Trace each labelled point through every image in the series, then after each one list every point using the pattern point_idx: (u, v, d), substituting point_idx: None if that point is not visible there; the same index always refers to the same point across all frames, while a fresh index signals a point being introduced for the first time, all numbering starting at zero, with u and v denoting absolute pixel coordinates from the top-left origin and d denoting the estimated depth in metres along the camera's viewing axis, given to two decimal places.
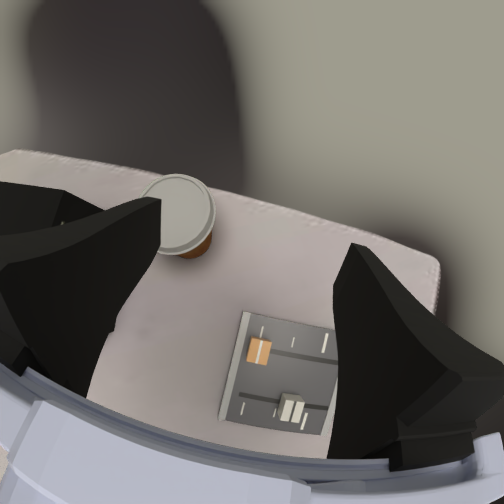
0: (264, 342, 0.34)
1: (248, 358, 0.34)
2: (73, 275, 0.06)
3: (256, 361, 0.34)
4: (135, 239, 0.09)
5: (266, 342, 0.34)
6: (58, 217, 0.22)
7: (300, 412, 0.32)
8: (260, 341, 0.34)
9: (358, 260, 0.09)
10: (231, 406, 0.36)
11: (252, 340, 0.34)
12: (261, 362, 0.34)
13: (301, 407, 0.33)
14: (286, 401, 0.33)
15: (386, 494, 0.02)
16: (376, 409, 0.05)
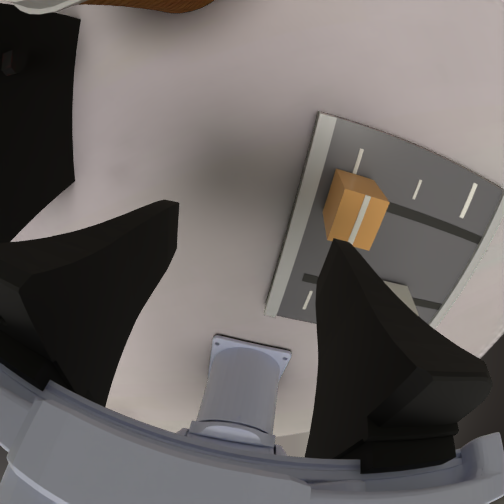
0: (373, 201, 0.13)
1: (332, 234, 0.15)
2: (96, 283, 0.06)
3: (349, 242, 0.15)
4: (154, 244, 0.09)
5: (377, 201, 0.13)
6: None
7: None
8: (364, 198, 0.13)
9: (338, 255, 0.09)
10: (288, 296, 0.22)
11: (345, 194, 0.13)
12: (360, 244, 0.15)
13: None
14: None
15: (386, 494, 0.02)
16: (349, 407, 0.05)
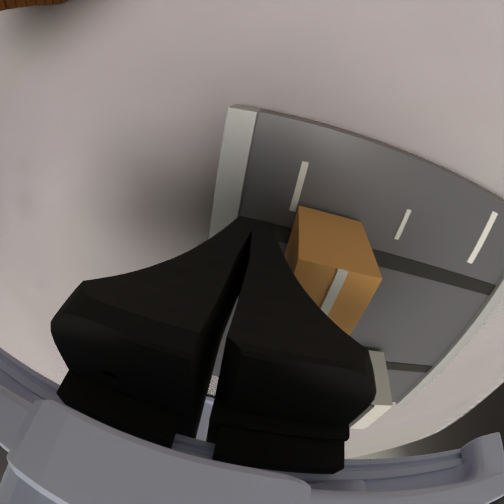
0: (352, 278, 0.08)
1: None
2: (217, 319, 0.06)
3: None
4: (241, 265, 0.09)
5: (360, 278, 0.08)
6: None
7: (375, 417, 0.12)
8: (336, 274, 0.08)
9: (251, 234, 0.09)
10: (221, 357, 0.17)
11: (301, 268, 0.08)
12: None
13: (381, 412, 0.12)
14: None
15: (386, 494, 0.02)
16: None
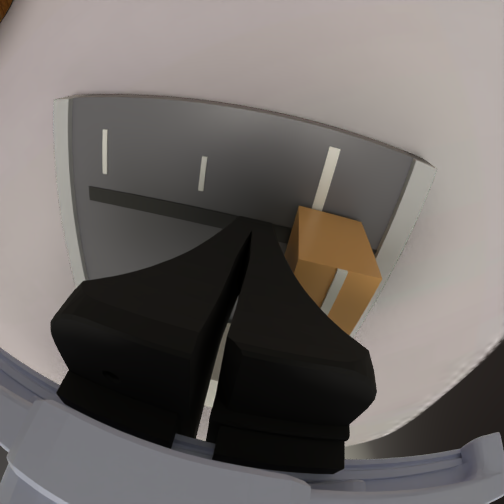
0: (352, 278, 0.08)
1: None
2: (217, 319, 0.06)
3: None
4: (241, 265, 0.09)
5: (360, 278, 0.08)
6: None
7: None
8: (336, 274, 0.08)
9: (251, 234, 0.09)
10: None
11: (300, 268, 0.08)
12: None
13: None
14: None
15: (386, 494, 0.02)
16: None
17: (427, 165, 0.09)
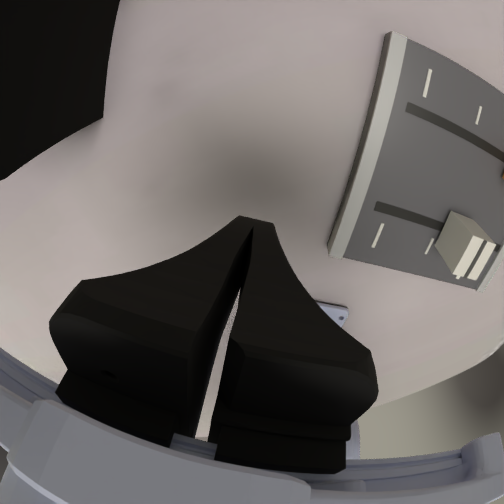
0: None
1: None
2: (215, 318, 0.06)
3: None
4: (240, 265, 0.09)
5: None
6: None
7: (484, 262, 0.14)
8: None
9: (252, 235, 0.09)
10: (357, 230, 0.19)
11: None
12: None
13: (489, 253, 0.14)
14: (472, 238, 0.14)
15: (386, 494, 0.02)
16: None
17: None
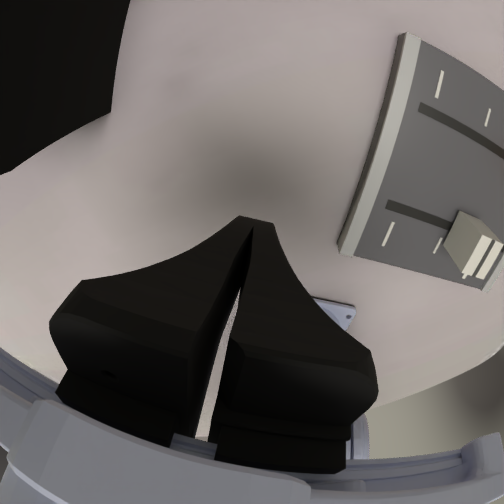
0: None
1: None
2: (215, 318, 0.06)
3: None
4: (240, 265, 0.09)
5: None
6: None
7: (492, 261, 0.14)
8: None
9: (252, 235, 0.09)
10: (368, 228, 0.19)
11: None
12: None
13: (496, 252, 0.14)
14: (481, 238, 0.14)
15: (386, 494, 0.02)
16: None
17: None
